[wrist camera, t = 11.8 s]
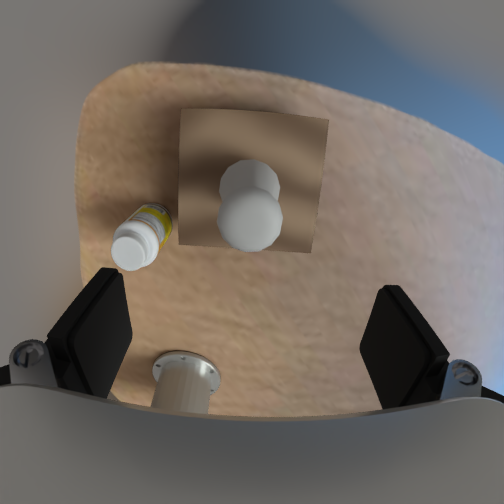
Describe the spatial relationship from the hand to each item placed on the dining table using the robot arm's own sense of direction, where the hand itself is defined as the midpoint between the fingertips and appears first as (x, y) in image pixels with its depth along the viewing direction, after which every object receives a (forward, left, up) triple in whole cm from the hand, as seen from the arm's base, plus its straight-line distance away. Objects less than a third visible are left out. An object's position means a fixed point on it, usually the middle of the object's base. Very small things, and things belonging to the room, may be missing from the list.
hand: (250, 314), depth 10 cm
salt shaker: (0, 0, -22) cm, 22 cm away
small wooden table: (0, 0, -28) cm, 28 cm away
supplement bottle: (-7, +12, -28) cm, 32 cm away
